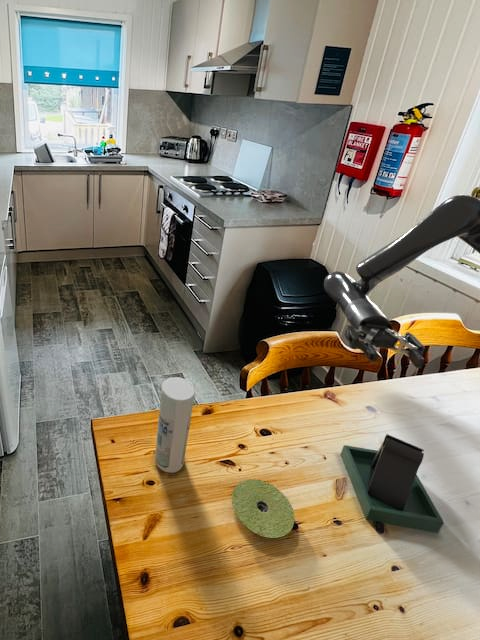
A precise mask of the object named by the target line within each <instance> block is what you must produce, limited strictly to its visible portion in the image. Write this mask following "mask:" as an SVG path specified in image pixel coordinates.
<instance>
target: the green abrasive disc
mask: <svg viewBox="0 0 480 640" xmlns="http://www.w3.org/2000/svg"><path fill="white" fill-rule="evenodd" d="M231 504H232V507H233V510H234V512H235V515H236V516H237V518H238V519H239V520H240V522H241V523H242V524H243V525H244V526H245V527H246V528H247V529H249V530H250V531H251V532H253V533H254V534H256V535H258V536H261V537H265V538H269V539H275V538H282V537H285V536H286V535H287V534H289V533H290V532H291V530H292V529H293V527H294V525H295V513H294V508H293V506H292V504H291V502H290V500H289V499H288V498H287V497H286V495H285V494H284V493H283V492H282V491H281V490H280V489H278V488H277V487H276V486H274V484H272V483H270V482H267V481H265V480H262V479H255V478H253V479H252V478H249V479H245V480H242V481H240V482H239V483H238V484H236V485H235V486H234V489H233V491H232V495H231Z"/></svg>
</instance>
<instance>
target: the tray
mask: <svg viewBox="0 0 480 640" xmlns="http://www.w3.org/2000/svg"><path fill="white" fill-rule="evenodd" d="M377 452H378V449H377V450H376V449H372V448H365V447H358V446H352V445H346V444H345V445H344V444H343V445H342V449H341V452H340V457H341V460H342V463H343V465H344V468H345V471H346V472H347V476H348V478H349V480H350V484H351V485H352V489H353V491H354V494H355V495H356V498H357V501H358V503H359V506H360V509H361V511H362V513H363V517H364V519H365V520H366V521H371V522H372V521H373V522H377V523H383V524H388V525H393V526H399V527H405V528H410V529H415V530H421V531H425V532H431V533H435V534H436V533H437V534H439V533H440V531H441V529H442V528H443V526H444V524H445V522H444V520H443V518H442V516H441V515H440V513H439V511H438V510H437V507H436V505H435V504H434V502H433V501H432V499H431V497H430V495H429V494H428V492H427V490H426V488H425V486H424V484H423V483H422V481H421V480H420V478H419V476H418V473H417V474H416V476H415V479H414V482H413V485H412V487H411V490H410V493H409V496H408V498H407V501H406V504H405V507H404V509H403V511H400V510H398V509H396V508H394V507H392V506H390V505H388V504H386V503H384V502H382V501H380V500H378V499H376V498H374V497H372V496H370V495H368V493H367V491H368V483H369V476H370V468H371V462H372V460H373V459H374V457H375V455H376V454H377Z"/></svg>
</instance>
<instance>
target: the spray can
mask: <svg viewBox="0 0 480 640" xmlns="http://www.w3.org/2000/svg"><path fill="white" fill-rule="evenodd" d="M195 395H196V389H195V387H194V385H193V383H192V382H191V381H189V380H188V379H186V378H183V377H180V376H179V377H178V376H173V377H169V378H167V379H165V380H164V381H163V382H162V385H161V391H160V399H159V400H160V402H159V411H158V421H157V432H156V440H155V441H156V443H155V452H154V460H155V464H156V466H157V467H158V468H159V469H160V470H161V471H163V472H166V473H171V474H172V473H176V472H179V471H180V470H181V469H182V468H183V466H184V463H185V458H186V452H187V445H188V438H189V433H190V426H191V420H192V415H193V414H192V413H193V408H194V401H195V397H196V396H195Z"/></svg>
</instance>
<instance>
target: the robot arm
mask: <svg viewBox="0 0 480 640" xmlns="http://www.w3.org/2000/svg"><path fill="white" fill-rule="evenodd" d="M454 238H458V239H460V240H462V241H463V242H464V243H466V244H467V245H468V246H469V247H471V248H472V249H473V250H474V251H476V252H477V253H478V254H479V255H480V198H478V197H476V196H474V195H473V196H472V195H471V194H470V195H469V194H457V195H453V196H451V197H447V198H446V199H445V200H443V201H442V202H441V203H439V205H438V206H437V207H435V208H434V209H433V210H432V211H431V212H429V213H428V214H427V215H426V216H425V217H424V218H423V219H421V221H420V222H418V223H417V224H416V225H414V226H413V227H412V228H411V229H409V230H408V231H406V232H405V233H403V234H402V235H401V236H399V237H397V238H396V239H394V240H393V241H391V242H390V243H388V244H386V245H385V246H384V247H382V248H380V249H378V250H377V251H376V252H374V253H372V254H370V255H369V256H367V257H366V258H365V259H363V260H361V261H360V262H359V263H357V265H356V266H355V270H356V273H357V275H358V276H359V277H360V279H359V280H358V281H356V280H355V279H353V278H352V277H351V276H350V275H349V274H347V273H346V272H344V271H339V270H337V271H332V272H330V273H328V274H327V275H326V276H325V278H324V281H323V288H324V291H325V292H326V294H327V295H328V296H329V297H330V298H331V299H332V300H333V301H334V302H335V303H336V304H337V305H338V307H340V310H341V311H342V313H343V314H344V316H345V317H346V320H347V322H348V324H349V325H346V328H345V332H344V337H345V339H346V341H347V344H348V345H349V347H350V348H351V349H352V350H357V349H359V350H360V352H362V353H363V354H364V355H365V357H366V358H367V359H368V360H370V362H371V363H377V360H378V357H379V352H378V351H377V350H376V349H375V348H384V349H388V350H391V351H392V352H395V353H397V354H402V355H404V356H406V357H407V358H408V360H409V361H410V363H412V365H413V366H414V367H415V368H417V369H421V368H422V367H423V365H424V363H425V360H426V359H425V358H424V357H423V354H424V351H425V350H426V347H425V345H424V344H423V343H422V342H421V341H420V340H419V339H418V338H417V337H416V336H415V335H414V334H413V333H412V332H408V331H407V332H405V334H400V333H399V332H397V331H395V330H394V328H393V325H392V322H391V321H390V319H388V317H387V315H385V314H384V312H383V311H382V310H381V309H380V308H379V306H378V305H377V304H375V303H374V302H373V301H372V300H371V298H370V297H369V296H368V295H369V294H370V293H371V292H372V291H373V290H374V289H375V288H376V287H377V286H378V285H379V284H381V283H382V282H384V281H386V280H387V279H389V278H391V277H392V276H394V275H396V274H397V273H399V272H400V271H403V270H404V269H405V268H407V267H408V266H410V264H412V263H413V262H414V261H415V260H417V259H418V258H419V257H420V256H422V255H423V254H425V253H426V252H428V251H430V250H432V249H433V248H435V247H437V246H438V245H441V244H442V243H446V242H447V241H449V240H452V239H454ZM398 342H399V344H398ZM397 344H398V346H397ZM405 347H406V348H407V349H408V350H406V349H405Z"/></svg>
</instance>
